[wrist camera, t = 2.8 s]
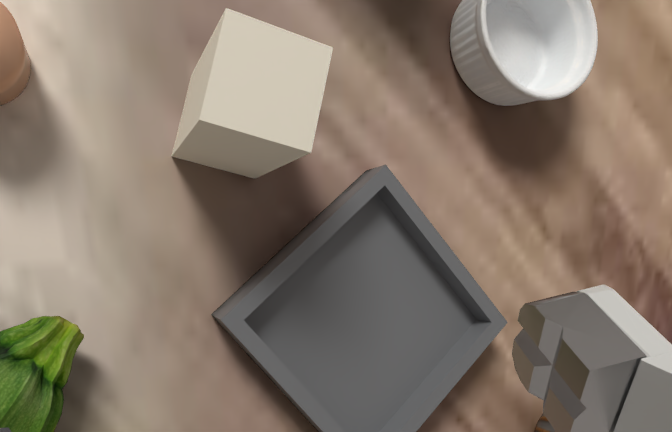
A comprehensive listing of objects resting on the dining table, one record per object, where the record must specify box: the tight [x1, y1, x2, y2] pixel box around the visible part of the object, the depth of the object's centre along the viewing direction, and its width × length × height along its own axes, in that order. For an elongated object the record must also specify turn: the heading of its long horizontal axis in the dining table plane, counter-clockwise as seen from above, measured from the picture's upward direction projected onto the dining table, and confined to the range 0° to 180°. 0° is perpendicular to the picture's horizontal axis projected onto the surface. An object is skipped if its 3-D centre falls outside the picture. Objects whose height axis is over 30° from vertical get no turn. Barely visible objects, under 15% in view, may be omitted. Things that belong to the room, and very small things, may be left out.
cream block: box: [172, 8, 333, 179], centre depth 27 cm, size 4×4×9 cm
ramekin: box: [450, 0, 598, 106], centre depth 36 cm, size 9×9×4 cm
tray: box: [211, 165, 507, 432], centre depth 32 cm, size 12×12×2 cm
